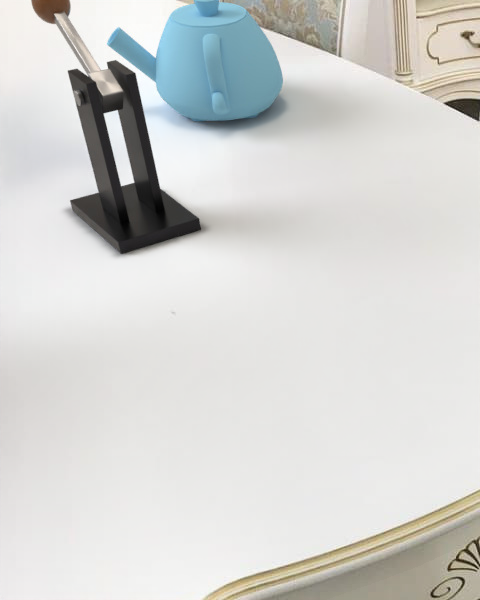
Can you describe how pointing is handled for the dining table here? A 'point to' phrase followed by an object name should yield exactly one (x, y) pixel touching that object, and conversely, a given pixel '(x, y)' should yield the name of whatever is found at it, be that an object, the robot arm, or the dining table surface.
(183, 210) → the bracket
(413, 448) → the dining table surface
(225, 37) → the teapot
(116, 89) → the lever
